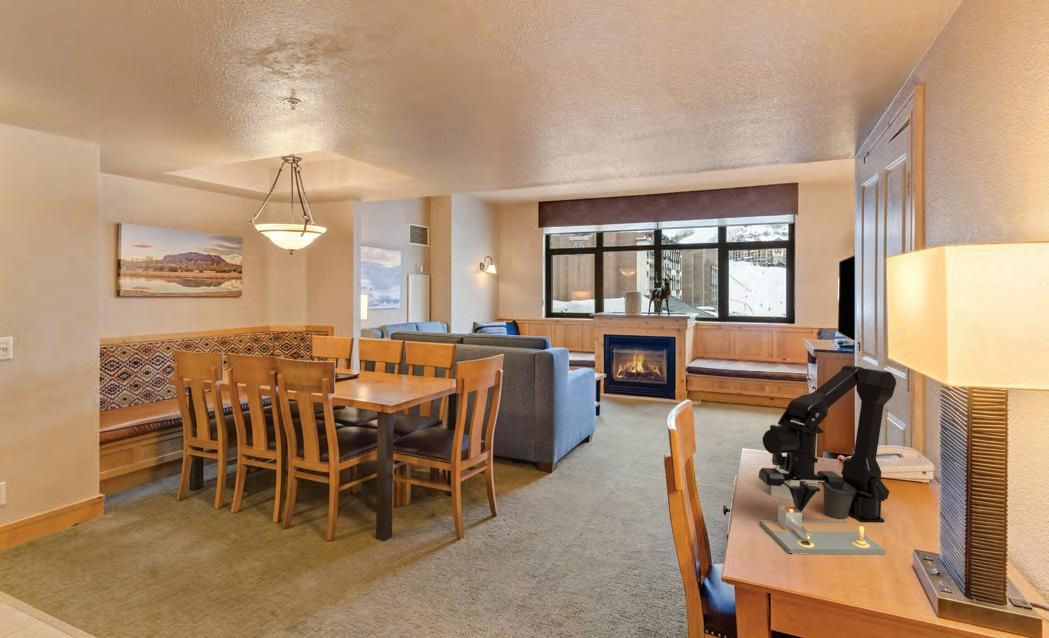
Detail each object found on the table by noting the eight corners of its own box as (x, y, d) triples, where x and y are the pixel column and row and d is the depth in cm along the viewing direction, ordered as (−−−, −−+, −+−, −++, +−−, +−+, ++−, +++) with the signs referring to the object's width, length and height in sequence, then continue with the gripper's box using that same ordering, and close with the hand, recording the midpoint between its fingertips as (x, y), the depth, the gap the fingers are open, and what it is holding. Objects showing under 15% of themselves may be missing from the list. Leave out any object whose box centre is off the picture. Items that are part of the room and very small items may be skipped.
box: (804, 487, 162) (805, 463, 162) (798, 502, 151) (798, 476, 151) (778, 482, 166) (779, 459, 166) (770, 496, 155) (770, 471, 155)
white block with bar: (793, 523, 134) (793, 504, 134) (817, 544, 123) (818, 524, 123) (777, 523, 134) (778, 504, 134) (800, 544, 123) (801, 524, 123)
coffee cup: (811, 512, 145) (815, 479, 142) (831, 505, 148) (835, 472, 146) (838, 528, 137) (843, 494, 135) (859, 521, 141) (864, 487, 138)
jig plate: (844, 525, 136) (845, 504, 136) (884, 554, 121) (886, 531, 121) (759, 524, 136) (760, 504, 136) (789, 554, 121) (790, 531, 121)
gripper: (824, 443, 140) (820, 501, 141) (752, 440, 141) (749, 497, 142) (847, 456, 129) (843, 519, 129) (769, 452, 130) (765, 514, 130)
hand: (798, 511), depth 133 cm, fingers closed
